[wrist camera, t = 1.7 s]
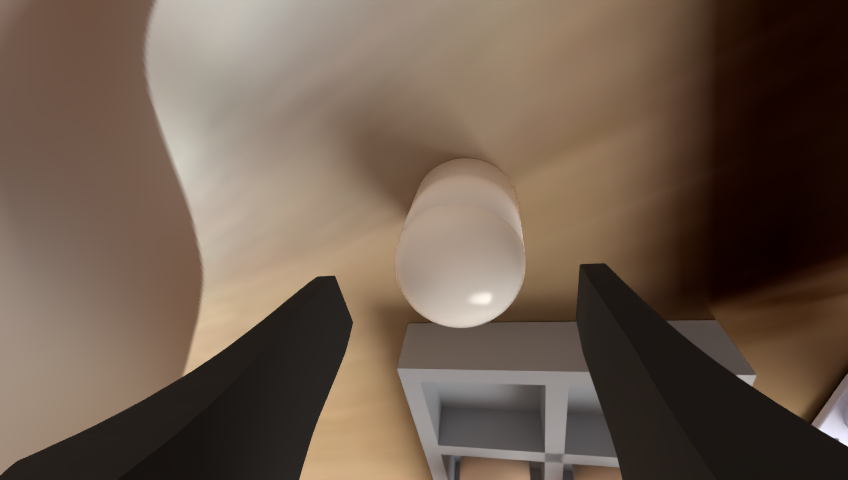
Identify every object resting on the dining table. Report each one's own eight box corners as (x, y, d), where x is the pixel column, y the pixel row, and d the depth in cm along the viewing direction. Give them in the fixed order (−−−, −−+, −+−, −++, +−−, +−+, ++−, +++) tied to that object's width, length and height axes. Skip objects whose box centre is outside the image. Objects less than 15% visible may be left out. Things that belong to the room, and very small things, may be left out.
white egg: (515, 152, 14) (531, 238, 9) (519, 245, 16) (533, 357, 11) (406, 164, 15) (362, 248, 10) (424, 251, 17) (397, 356, 12)
